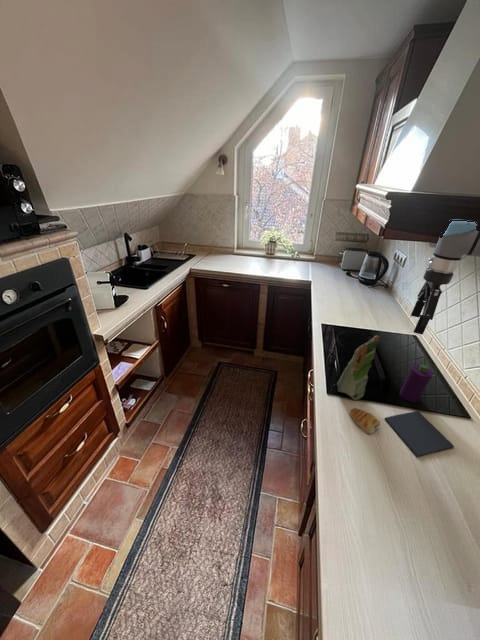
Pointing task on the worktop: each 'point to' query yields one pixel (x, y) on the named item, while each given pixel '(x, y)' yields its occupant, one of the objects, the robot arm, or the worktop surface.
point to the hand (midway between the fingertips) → (416, 324)
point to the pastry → (365, 420)
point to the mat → (418, 433)
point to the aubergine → (415, 383)
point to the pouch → (358, 370)
